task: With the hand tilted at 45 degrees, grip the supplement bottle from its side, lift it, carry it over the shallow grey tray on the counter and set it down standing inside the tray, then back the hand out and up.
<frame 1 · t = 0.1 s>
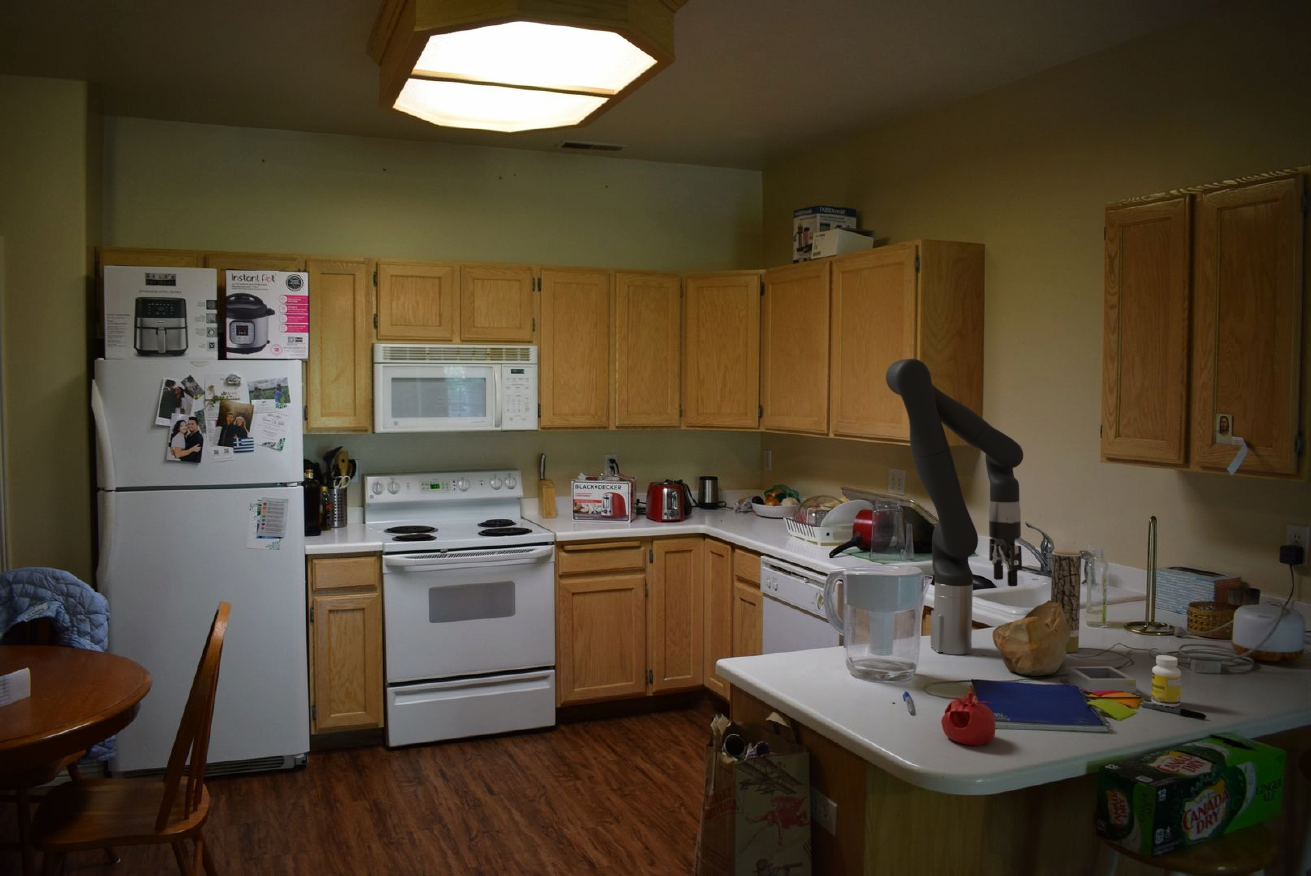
hand: (1005, 582, 245), 17 cm above the countertop, tool pointing down, fingers open, 8 cm apart
pomegranate: (967, 740, 181), on the countertop
brown bark log: (1063, 650, 247), on the countertop
shallow grey tray: (1099, 689, 214), on the countertop
supplement bottle: (1165, 704, 204), on the countertop
rough brown rock: (1026, 666, 232), on the countertop
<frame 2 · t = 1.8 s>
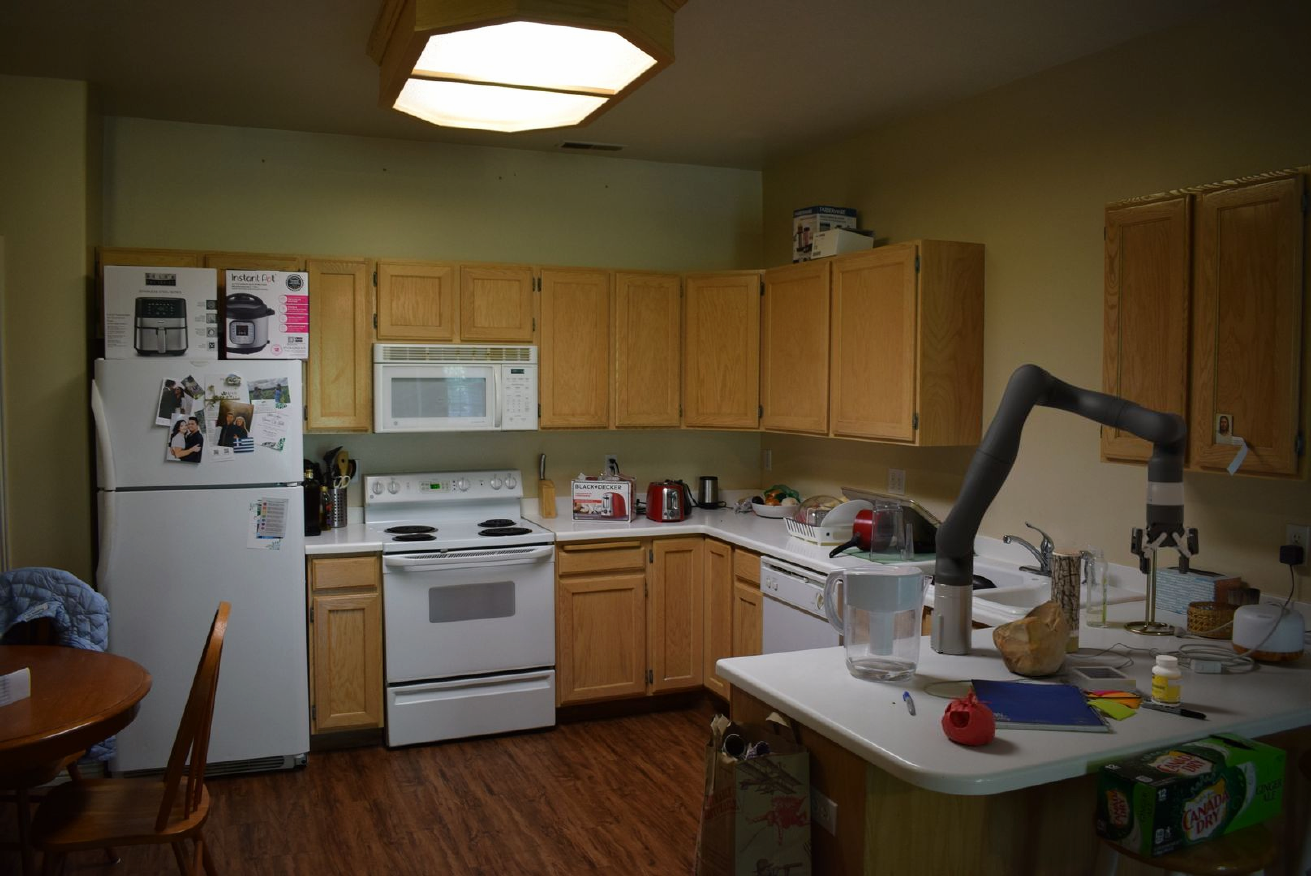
hand: (1164, 573, 218), 25 cm above the countertop, tool pointing down, fingers open, 8 cm apart
nothing on the countertop moved.
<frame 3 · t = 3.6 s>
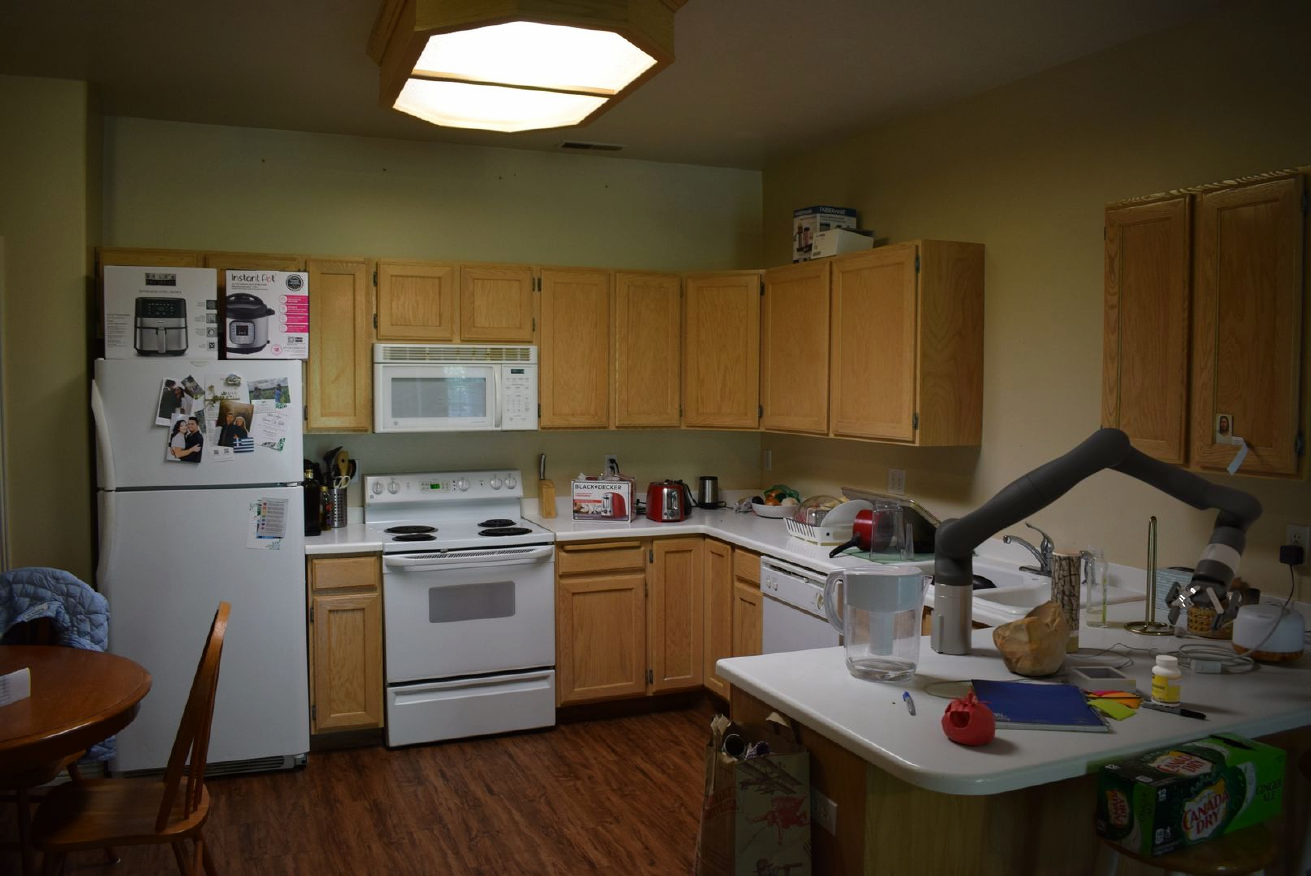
hand: (1192, 626, 211), 15 cm above the countertop, tool tilted 45°, fingers open, 8 cm apart
nothing on the countertop moved.
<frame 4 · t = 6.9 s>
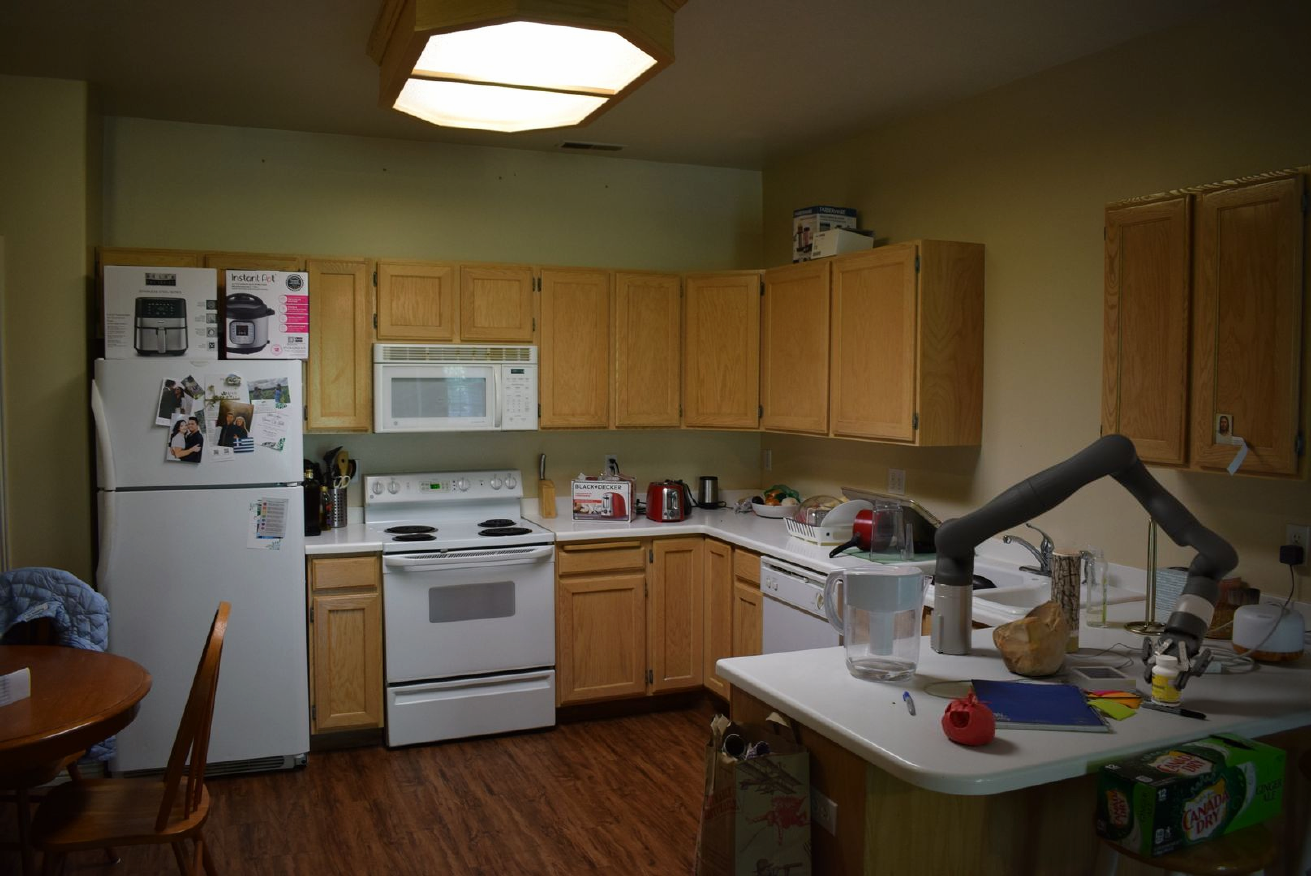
hand: (1162, 684, 203), 4 cm above the countertop, tool tilted 45°, fingers closed on supplement bottle, 5 cm apart
supplement bottle: (1165, 704, 204), on the countertop, touching gripper
everything else where it was.
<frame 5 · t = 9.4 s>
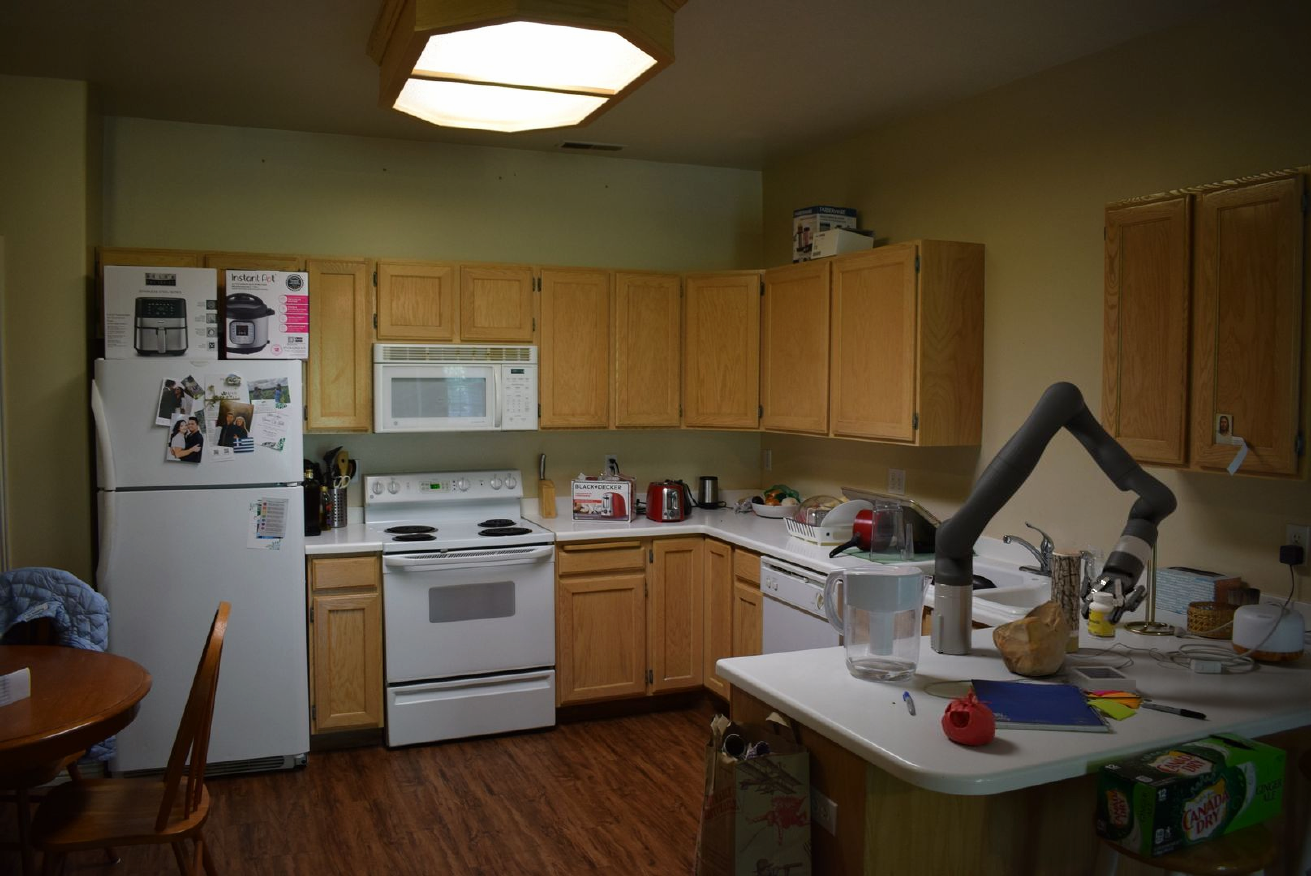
hand: (1098, 619, 212), 16 cm above the countertop, tool tilted 45°, fingers closed on supplement bottle, 5 cm apart
supplement bottle: (1101, 638, 213), point 11 cm above the countertop, touching gripper
everything else where it was.
when the fingers open (6 cm above the countertop, at t = 11.9 s): supplement bottle drops 1 cm, resting on shallow grey tray.
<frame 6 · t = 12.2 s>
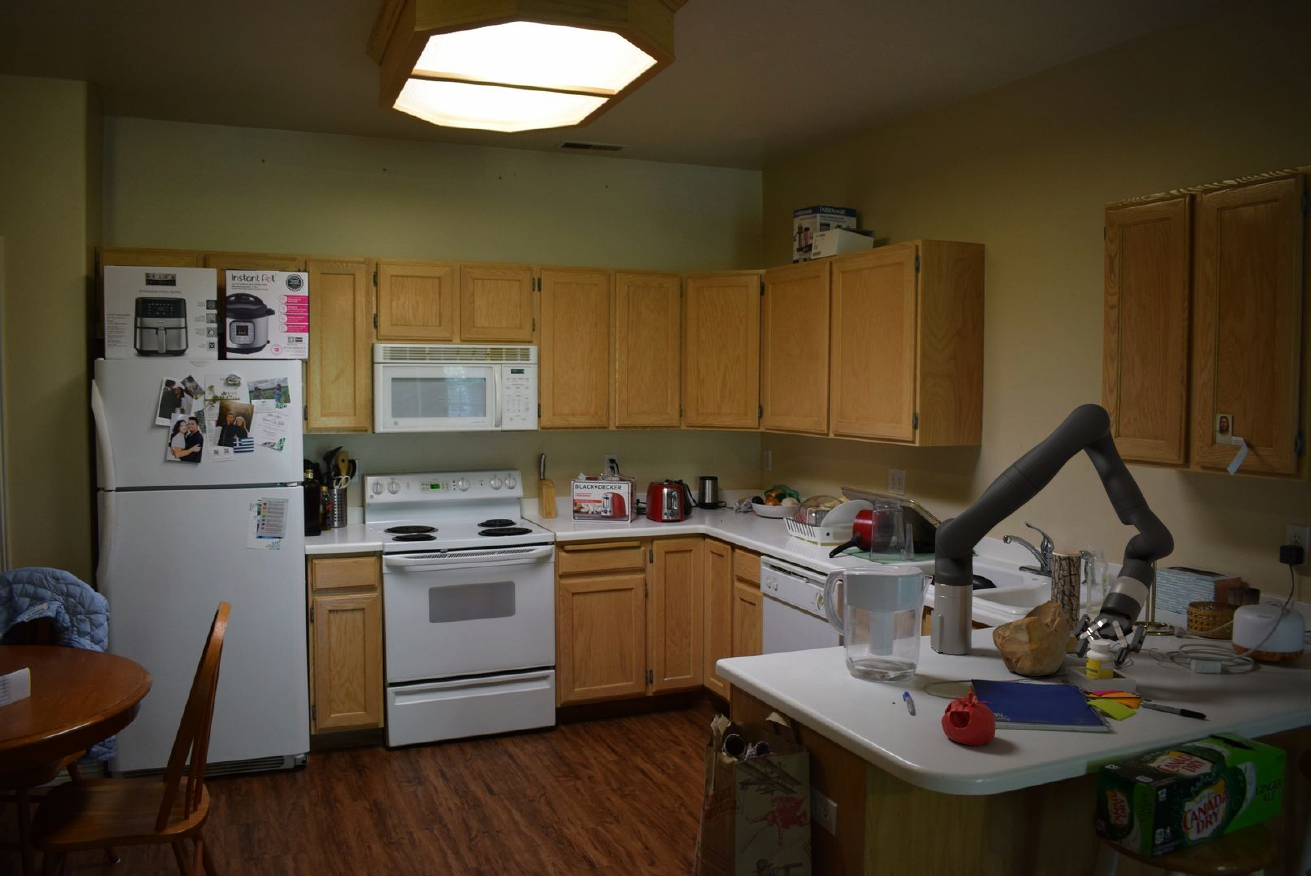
hand: (1097, 660, 212), 7 cm above the countertop, tool tilted 45°, fingers open, 8 cm apart
supplement bottle: (1099, 687, 214), resting on shallow grey tray
everything else where it was.
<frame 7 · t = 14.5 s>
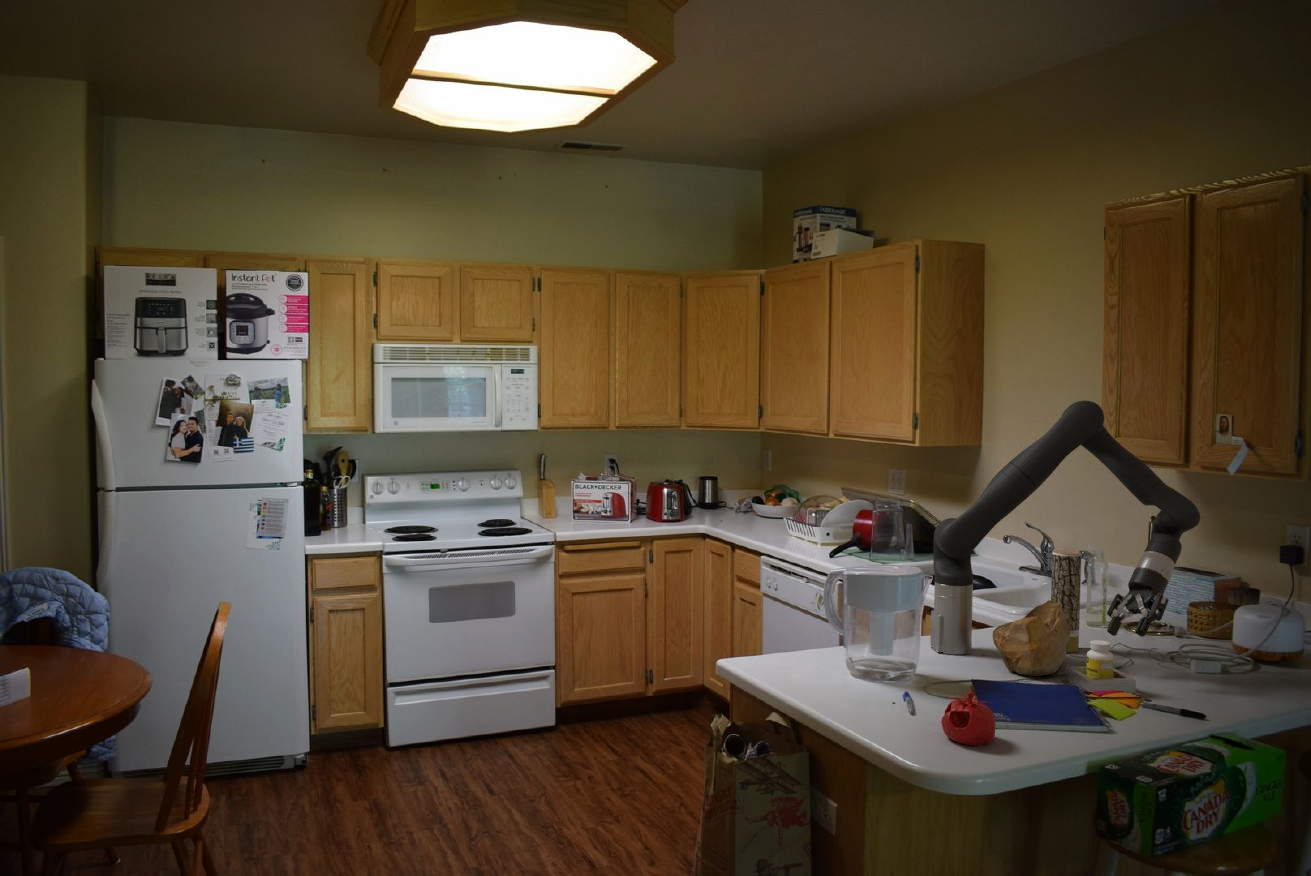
hand: (1124, 634, 221), 10 cm above the countertop, tool tilted 40°, fingers open, 8 cm apart
nothing on the countertop moved.
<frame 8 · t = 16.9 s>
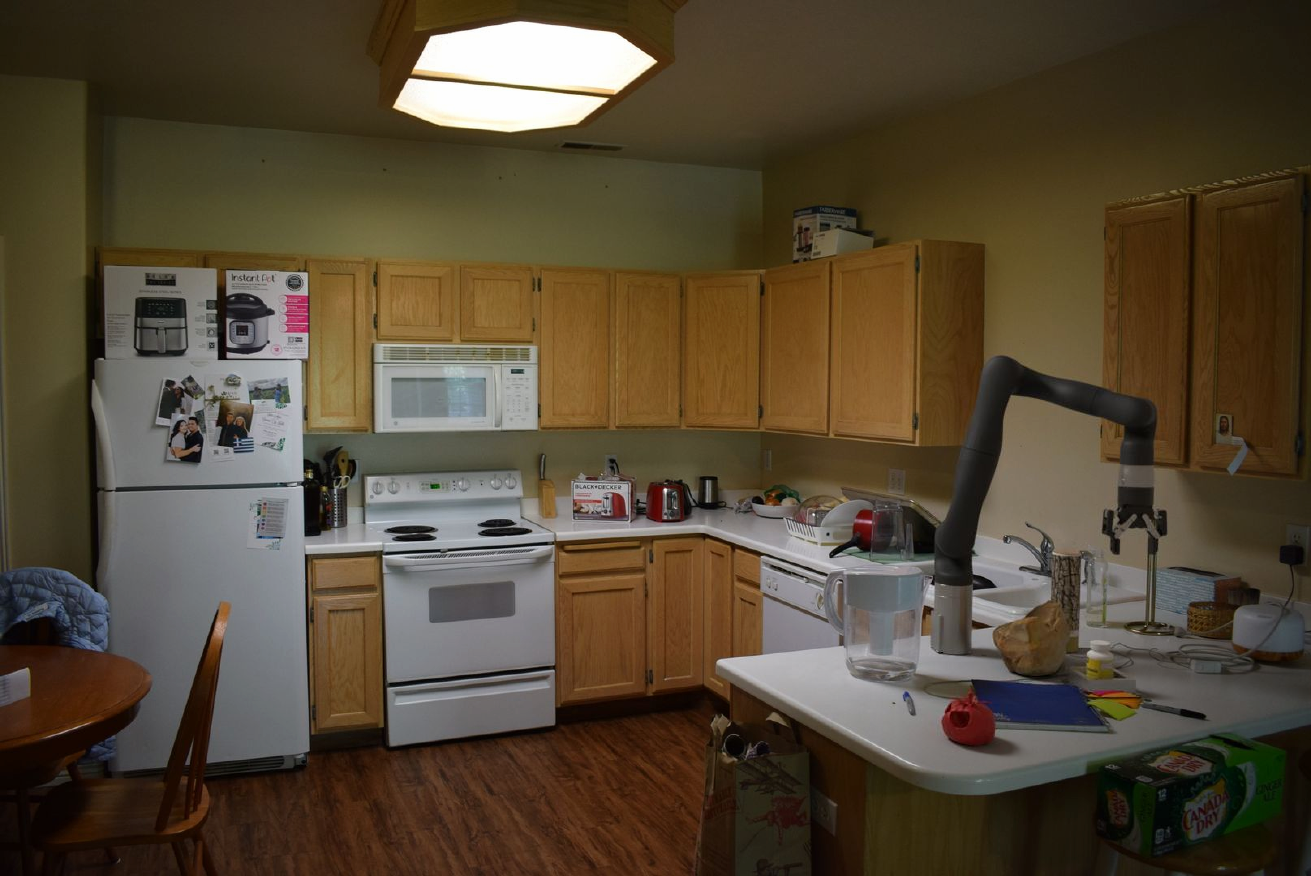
hand: (1133, 554, 224), 28 cm above the countertop, tool pointing down, fingers open, 8 cm apart
nothing on the countertop moved.
at the end: supplement bottle 0.3 cm off-centre on the shallow grey tray, point 0.4 cm above the shallow grey tray's base; supplement bottle tilted 0°; the gripper is holding nothing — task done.
